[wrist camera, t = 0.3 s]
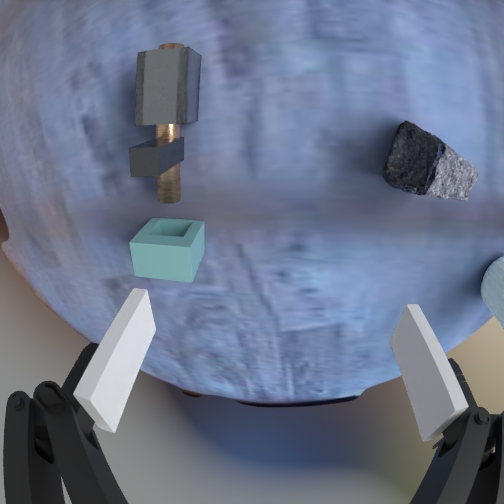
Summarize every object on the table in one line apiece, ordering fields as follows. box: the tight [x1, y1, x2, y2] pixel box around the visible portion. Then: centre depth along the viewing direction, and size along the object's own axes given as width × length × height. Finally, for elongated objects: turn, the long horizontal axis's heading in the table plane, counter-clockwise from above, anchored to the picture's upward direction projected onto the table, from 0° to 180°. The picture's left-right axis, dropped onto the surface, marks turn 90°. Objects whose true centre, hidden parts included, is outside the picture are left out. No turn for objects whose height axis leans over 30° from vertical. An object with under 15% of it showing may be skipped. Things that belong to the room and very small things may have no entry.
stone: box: [383, 121, 478, 201], centre depth 29 cm, size 12×10×10 cm
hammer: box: [129, 43, 184, 203], centre depth 28 cm, size 20×3×9 cm, turn 176°
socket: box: [129, 218, 205, 282], centre depth 37 cm, size 5×8×8 cm, turn 87°
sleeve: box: [135, 47, 201, 126], centre depth 28 cm, size 9×6×6 cm, turn 176°
